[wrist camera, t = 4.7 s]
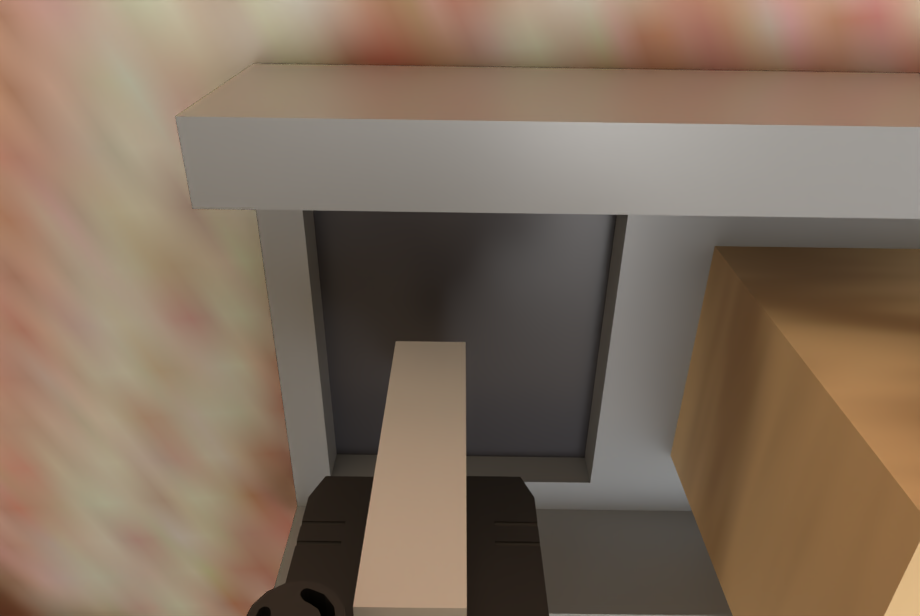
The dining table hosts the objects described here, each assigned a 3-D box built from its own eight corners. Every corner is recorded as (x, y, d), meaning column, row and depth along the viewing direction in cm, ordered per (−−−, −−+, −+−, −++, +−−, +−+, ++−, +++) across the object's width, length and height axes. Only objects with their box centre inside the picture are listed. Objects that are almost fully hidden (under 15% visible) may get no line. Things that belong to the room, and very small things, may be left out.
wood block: (670, 455, 18) (799, 790, 11) (714, 246, 15) (929, 523, 8) (898, 458, 18) (1171, 794, 11) (986, 249, 15) (1431, 528, 8)
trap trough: (310, 513, 21) (275, 650, 17) (253, 63, 14) (175, 116, 11) (971, 521, 21) (1088, 660, 17) (1203, 77, 15) (1475, 135, 11)
